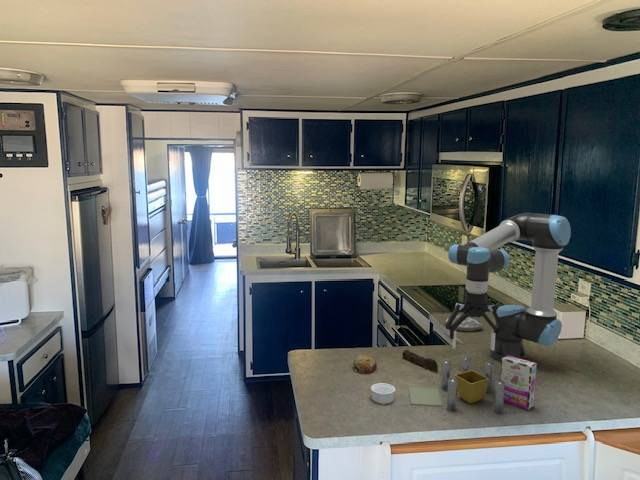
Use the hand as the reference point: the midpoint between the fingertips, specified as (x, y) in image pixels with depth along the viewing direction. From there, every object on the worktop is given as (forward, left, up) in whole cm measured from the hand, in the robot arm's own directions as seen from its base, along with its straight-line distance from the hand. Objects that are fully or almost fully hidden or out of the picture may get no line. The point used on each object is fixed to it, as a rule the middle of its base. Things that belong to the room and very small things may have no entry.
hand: (472, 348), depth 184 cm
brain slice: (-11, -81, -20) cm, 84 cm away
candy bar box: (-16, +1, -20) cm, 26 cm away
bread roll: (+39, -23, -20) cm, 49 cm away
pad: (+16, 0, -20) cm, 26 cm away
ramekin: (+32, +3, -20) cm, 38 cm away
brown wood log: (+15, -30, -20) cm, 39 cm away
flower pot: (0, 0, -20) cm, 20 cm away
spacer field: (0, -2, -20) cm, 20 cm away
